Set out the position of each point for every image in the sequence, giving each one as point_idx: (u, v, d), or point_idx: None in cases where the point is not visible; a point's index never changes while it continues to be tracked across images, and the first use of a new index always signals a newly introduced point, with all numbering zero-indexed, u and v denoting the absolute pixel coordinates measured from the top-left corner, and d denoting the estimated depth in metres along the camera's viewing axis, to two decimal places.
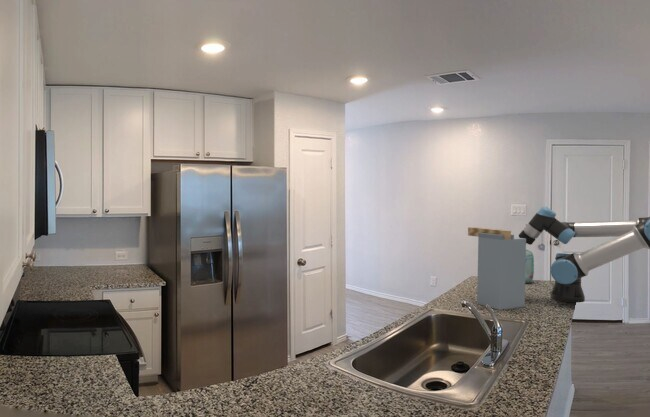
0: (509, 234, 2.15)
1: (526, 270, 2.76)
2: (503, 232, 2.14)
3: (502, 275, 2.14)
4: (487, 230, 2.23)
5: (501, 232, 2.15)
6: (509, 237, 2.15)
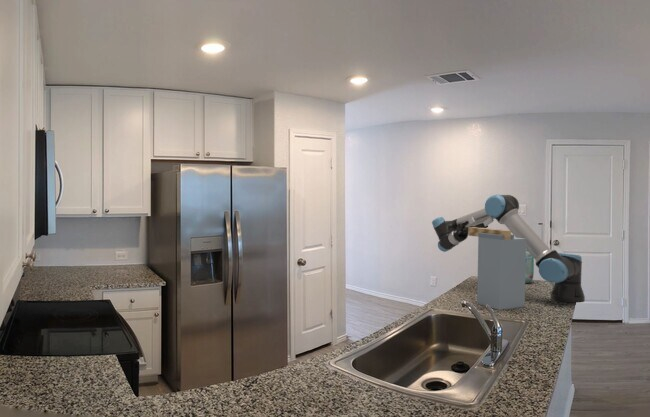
0: (509, 234, 2.15)
1: (526, 270, 2.76)
2: (503, 232, 2.14)
3: (502, 275, 2.14)
4: (487, 230, 2.23)
5: (501, 232, 2.15)
6: (509, 237, 2.15)
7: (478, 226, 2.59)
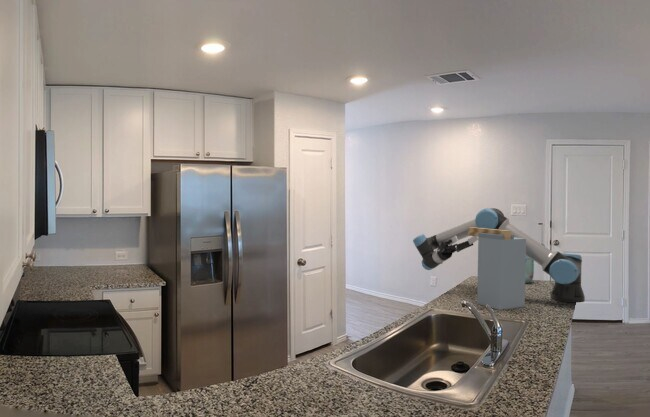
0: (509, 234, 2.15)
1: (526, 270, 2.76)
2: (503, 232, 2.14)
3: (502, 275, 2.14)
4: (487, 230, 2.23)
5: (501, 232, 2.15)
6: (509, 237, 2.15)
7: (463, 244, 2.47)
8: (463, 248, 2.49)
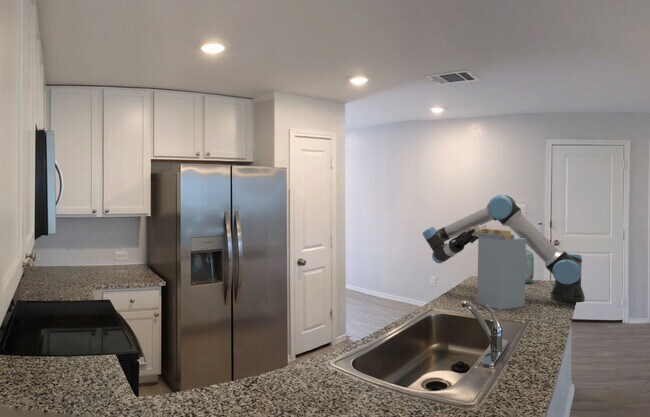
0: (509, 234, 2.15)
1: (526, 270, 2.76)
2: (503, 232, 2.14)
3: (502, 275, 2.14)
4: (487, 230, 2.23)
5: (501, 232, 2.15)
6: (509, 237, 2.15)
7: None
8: (474, 239, 2.39)
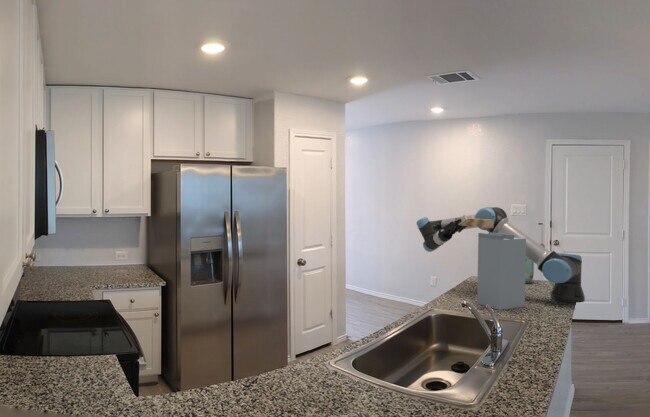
0: (492, 223, 2.34)
1: (526, 270, 2.76)
2: (486, 221, 2.33)
3: (502, 275, 2.14)
4: (472, 219, 2.42)
5: (484, 221, 2.35)
6: (492, 226, 2.34)
7: (459, 225, 2.56)
8: (461, 229, 2.59)
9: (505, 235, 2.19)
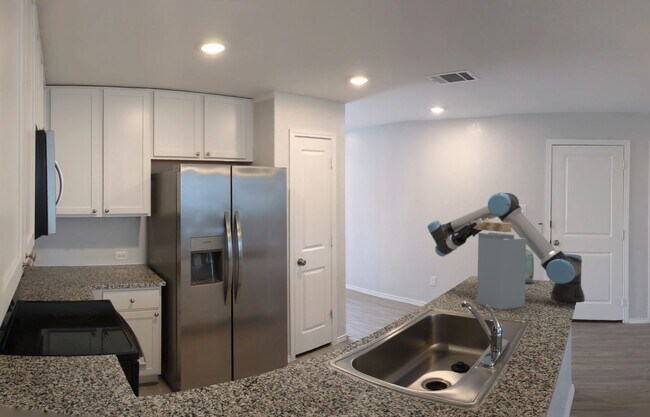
0: (509, 227, 2.23)
1: (526, 270, 2.76)
2: (504, 225, 2.22)
3: (502, 275, 2.14)
4: (488, 223, 2.31)
5: (502, 225, 2.23)
6: (509, 230, 2.23)
7: (474, 229, 2.45)
8: (476, 233, 2.47)
9: (505, 235, 2.19)
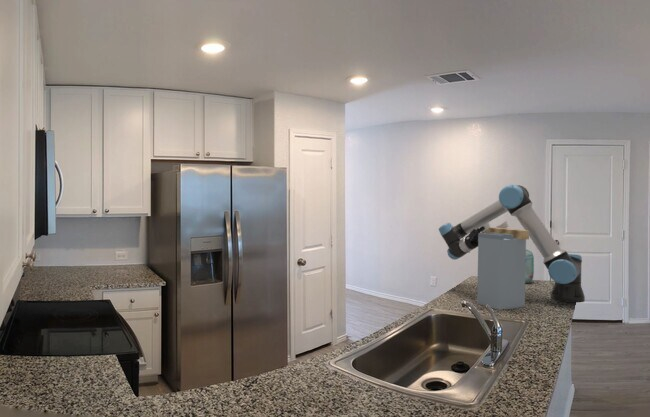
0: (527, 234, 2.16)
1: (526, 270, 2.76)
2: (521, 232, 2.15)
3: (502, 275, 2.14)
4: (504, 230, 2.24)
5: (519, 232, 2.16)
6: (527, 237, 2.16)
7: None
8: None
9: (505, 235, 2.19)
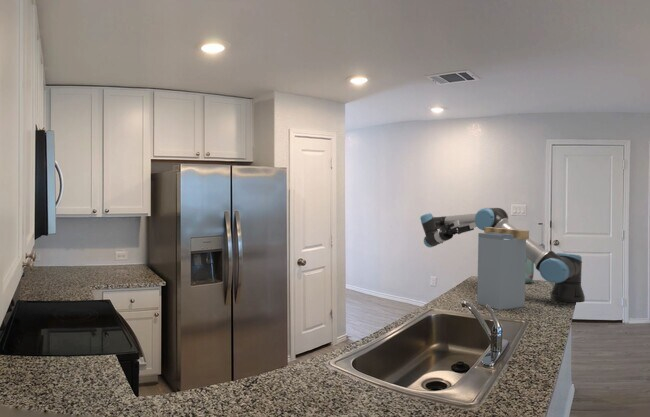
0: (527, 234, 2.16)
1: (526, 270, 2.76)
2: (521, 232, 2.15)
3: (502, 275, 2.14)
4: (504, 230, 2.24)
5: (519, 232, 2.16)
6: (527, 237, 2.16)
7: (464, 228, 2.63)
8: (464, 231, 2.65)
9: (505, 235, 2.19)
